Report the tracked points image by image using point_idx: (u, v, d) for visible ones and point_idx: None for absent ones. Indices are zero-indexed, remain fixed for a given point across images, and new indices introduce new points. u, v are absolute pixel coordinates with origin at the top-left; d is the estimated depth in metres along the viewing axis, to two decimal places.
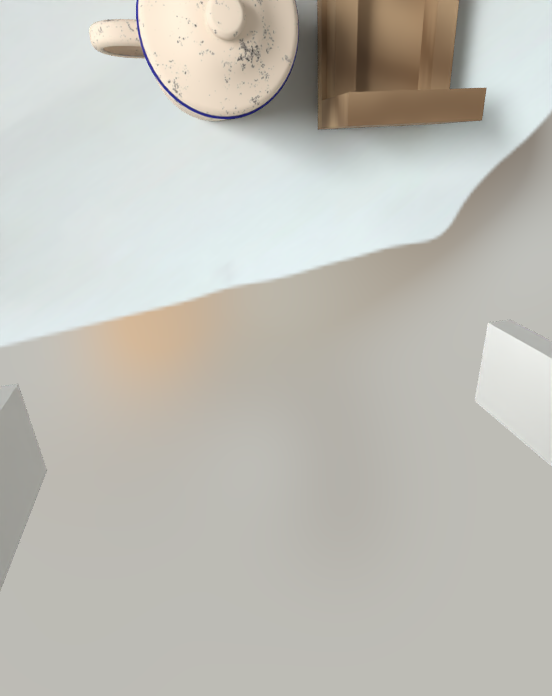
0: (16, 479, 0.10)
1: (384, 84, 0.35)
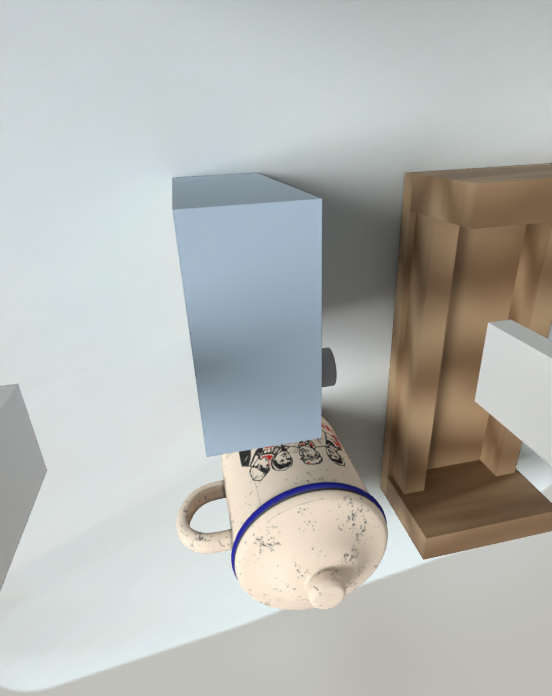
0: (16, 479, 0.10)
1: (449, 456, 0.35)
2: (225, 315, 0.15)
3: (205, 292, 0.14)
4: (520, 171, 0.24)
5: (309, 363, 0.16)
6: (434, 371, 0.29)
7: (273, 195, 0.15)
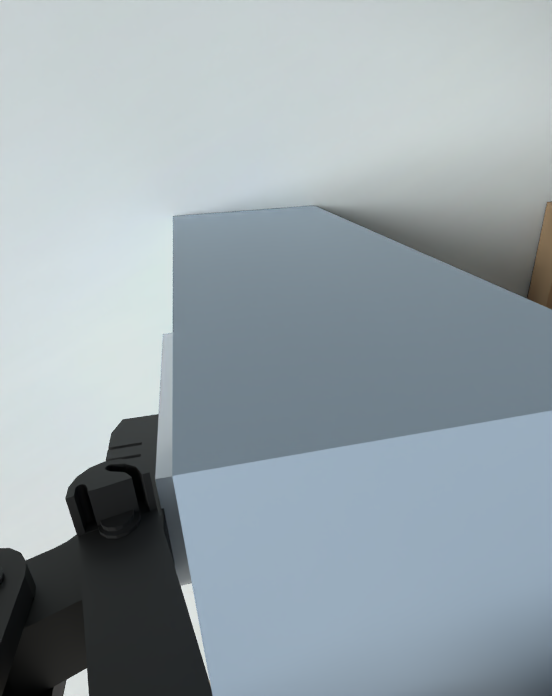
0: None
1: None
2: None
3: (281, 676, 0.04)
4: None
5: None
6: None
7: (474, 328, 0.05)
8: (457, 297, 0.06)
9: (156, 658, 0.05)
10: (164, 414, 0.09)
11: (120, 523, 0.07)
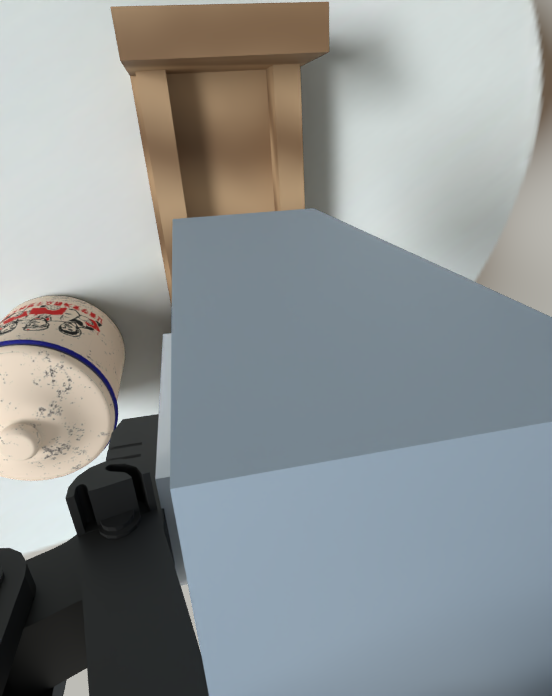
0: None
1: None
2: None
3: (280, 687, 0.04)
4: None
5: None
6: None
7: (473, 335, 0.05)
8: (456, 304, 0.06)
9: (156, 658, 0.05)
10: (164, 414, 0.09)
11: (120, 523, 0.07)
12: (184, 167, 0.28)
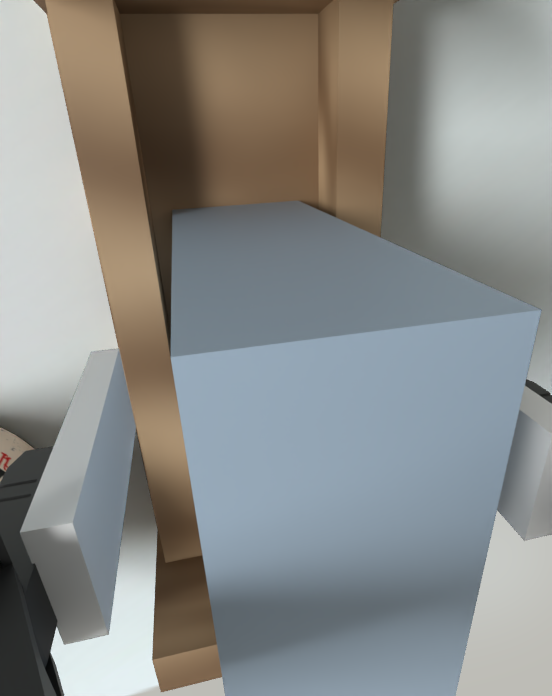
0: (124, 428, 0.12)
1: None
2: (290, 559, 0.06)
3: (248, 522, 0.06)
4: None
5: (451, 614, 0.08)
6: (157, 350, 0.15)
7: (394, 283, 0.07)
8: (391, 265, 0.08)
9: None
10: (59, 449, 0.08)
11: None
12: (158, 196, 0.15)
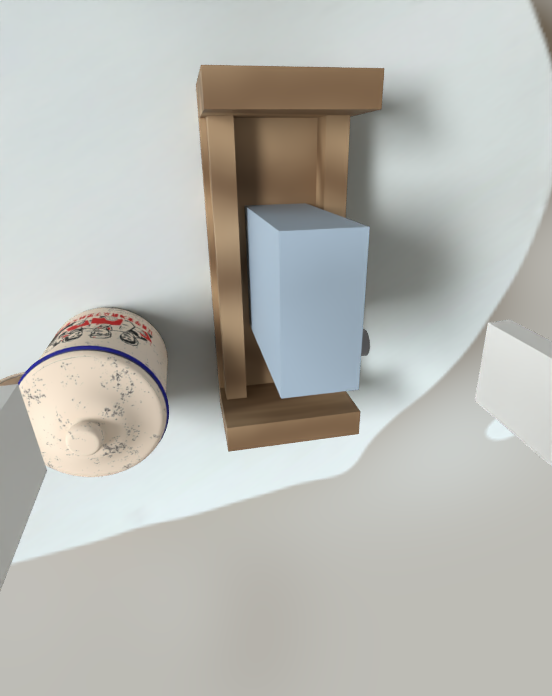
0: (16, 479, 0.10)
1: None
2: (303, 299, 0.22)
3: (292, 283, 0.22)
4: None
5: (354, 335, 0.24)
6: (235, 273, 0.31)
7: (335, 223, 0.23)
8: (337, 220, 0.24)
9: None
10: None
11: None
12: (238, 198, 0.31)
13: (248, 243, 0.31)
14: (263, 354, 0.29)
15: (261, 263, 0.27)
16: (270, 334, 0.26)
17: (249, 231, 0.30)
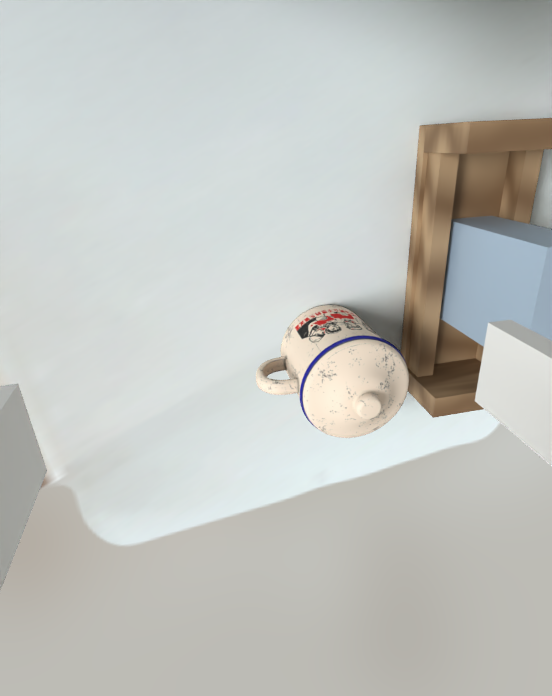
0: (16, 479, 0.10)
1: (452, 353, 0.45)
2: None
3: (548, 285, 0.30)
4: None
5: None
6: (440, 274, 0.39)
7: None
8: None
9: None
10: None
11: None
12: None
13: (450, 250, 0.39)
14: (475, 338, 0.37)
15: (488, 268, 0.34)
16: None
17: (456, 241, 0.38)
